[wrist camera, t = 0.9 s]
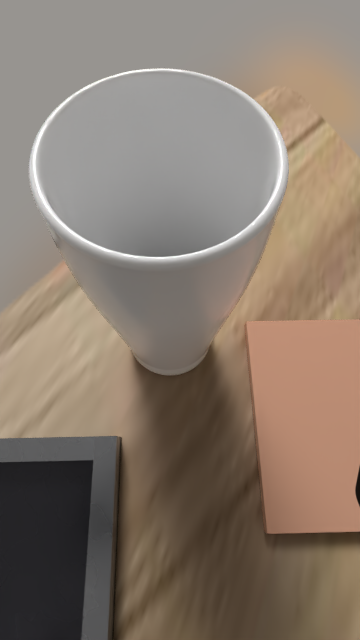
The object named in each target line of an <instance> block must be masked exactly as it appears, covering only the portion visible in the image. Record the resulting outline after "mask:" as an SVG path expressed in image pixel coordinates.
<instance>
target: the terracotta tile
mask: <svg viewBox="0 0 360 640" xmlns="http://www.w3.org/2000/svg"><path fill="white" fill-rule="evenodd" d="M244 326H245V337H246V347H247V358H248V368H249V378H250V389H251V399H252V410H253V420H254V431H255V441H256V452H257V462H258V472H259V483H260V493H261V504H262V514H263V525H264V531H265V532H266V533H267V534H280V533H319V532H359V531H360V506H359V504H358V501H357V498H356V494H355V487H356V482H357V477H358V471H359V466H360V319H354V320H297V321H246V323H245V325H244Z"/></svg>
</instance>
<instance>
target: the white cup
mask: <svg viewBox="0 0 360 640" xmlns="http://www.w3.org/2000/svg"><path fill="white" fill-rule="evenodd" d="M288 174H289V163H288V155H287V150H286V146H285V143H284V140H283V138H282V135H281V133H280V131H279V129H278V127H277V126H276V124H275V122H274V121H273V120H272V118H271V117H270V115H269V114H268V113H267V112H266V111H265V110H264V109H263V108H262V107H261V106H260V105H259V104H258V103H257V102H256V101H255V100H254V99H252V98H251V97H250V96H249V95H247V94H246V93H244V92H243V91H241V90H240V89H238V88H236V87H234V86H232V85H230V84H228V83H226V82H224V81H222V80H219V79H217V78H214V77H211V76H208V75H204V74H201V73H197V72H192V71H186V70H179V69H157V68H156V69H142V70H134V71H129V72H124V73H120V74H116V75H112V76H110V77H106V78H104V79H101V80H99V81H96V82H94V83H92V84H90V85H88V86H86V87H84V88H82V89H81V90H79V91H77V92H76V93H74V94H73V95H71V96H70V97H69V98H67V99H66V100H65V101H64V102H62V103H61V104H60V105H59V106H58V107H57V108H56V109H55V110H54V111H53V112H52V113H51V114H50V116H49V117H48V118H47V119H46V121H45V122H44V124H43V125H42V127H41V129H40V130H39V132H38V134H37V136H36V138H35V141H34V144H33V147H32V150H31V155H30V159H29V182H30V187H31V192H32V195H33V198H34V201H35V203H36V206H37V208H38V210H39V212H40V214H41V215H42V217H43V219H44V221H45V223H46V225H47V227H48V229H49V232H50V234H51V236H52V238H53V240H54V242H55V244H56V246H57V248H58V250H59V252H60V254H61V255H62V257H63V259H64V261H65V263H66V265H67V266H68V268H69V270H70V271H71V273H72V275H73V276H74V278H75V279H76V281H77V283H78V284H79V286H80V287H81V289H82V290H83V292H84V293H85V294H86V296H87V297H88V299H89V300H90V301H91V302H92V304H93V305H94V306H95V307H96V309H97V310H98V311H99V312H100V314H101V315H102V316H103V317H104V318H105V319H106V321H107V322H108V323H109V324H110V325H111V326H112V328H113V329H114V330H115V331H116V332H117V333H118V335H119V336H120V337H121V338H122V339H123V340H124V342H125V343H126V344H127V345H128V347H129V348H130V349H131V351H132V353H133V355H134V356H135V358H136V359H137V361H138V362H139V363H140V364H141V365H142V366H144V367H145V368H146V369H148V370H150V371H152V372H154V373H157V374H160V375H168V376H172V375H179V374H183V373H186V372H188V371H190V370H192V369H193V368H195V367H196V366H197V365H198V364H199V363H200V362H201V361H202V360H203V359H204V358H205V356H206V354H207V353H208V350H209V348H210V345H211V343H212V341H213V340H214V338H215V337H216V335H217V334H218V332H219V330H220V329H221V327H222V326H223V324H224V323H225V321H226V320H227V318H228V317H229V315H230V314H231V312H232V311H233V309H234V308H235V306H236V305H237V303H238V302H239V300H240V298H241V297H242V295H243V294H244V292H245V290H246V288H247V287H248V285H249V283H250V281H251V279H252V277H253V275H254V273H255V271H256V269H257V267H258V264H259V262H260V260H261V258H262V255H263V253H264V250H265V248H266V245H267V242H268V240H269V237H270V235H271V232H272V229H273V226H274V223H275V220H276V217H277V214H278V211H279V208H280V205H281V203H282V200H283V197H284V195H285V191H286V187H287V183H288Z"/></svg>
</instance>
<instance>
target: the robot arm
mask: <svg viewBox="0 0 360 640" xmlns="http://www.w3.org/2000/svg"><path fill="white" fill-rule="evenodd" d="M355 494H356V498H357V501H358V504H359V506H360V466H359V471H358V477H357V482H356V487H355Z"/></svg>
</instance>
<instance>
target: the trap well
mask: <svg viewBox="0 0 360 640" xmlns="http://www.w3.org/2000/svg"><path fill="white" fill-rule="evenodd" d="M120 456H121V437H118V436H100V437H54V438H8V439H0V640H113V631H114V606H115V581H116V556H117V531H118V506H119V481H120Z"/></svg>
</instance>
